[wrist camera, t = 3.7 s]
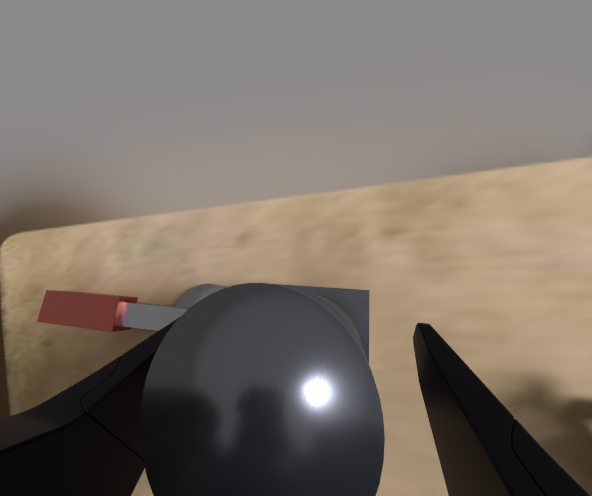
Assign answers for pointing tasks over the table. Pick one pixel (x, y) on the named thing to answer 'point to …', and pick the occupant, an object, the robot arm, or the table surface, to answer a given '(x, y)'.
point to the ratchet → (115, 310)
